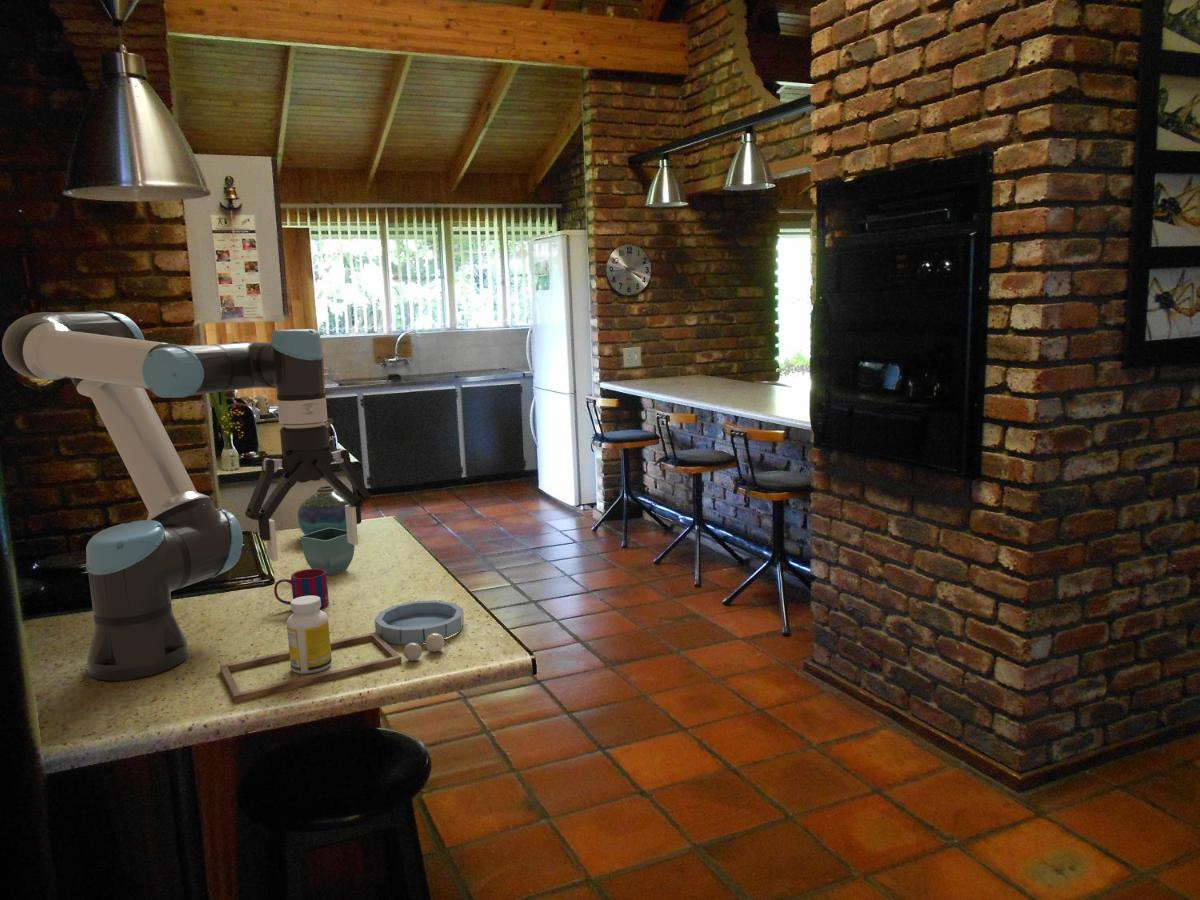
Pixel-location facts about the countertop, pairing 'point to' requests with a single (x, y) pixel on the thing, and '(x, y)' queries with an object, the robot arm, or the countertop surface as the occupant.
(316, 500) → the vase
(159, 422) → the robot arm
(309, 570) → the mug
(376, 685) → the countertop surface
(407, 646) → the glossy pale sphere
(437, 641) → the pebble
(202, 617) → the countertop surface
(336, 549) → the flower pot
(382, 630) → the bowl
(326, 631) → the pill bottle
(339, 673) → the open rectangular frame
